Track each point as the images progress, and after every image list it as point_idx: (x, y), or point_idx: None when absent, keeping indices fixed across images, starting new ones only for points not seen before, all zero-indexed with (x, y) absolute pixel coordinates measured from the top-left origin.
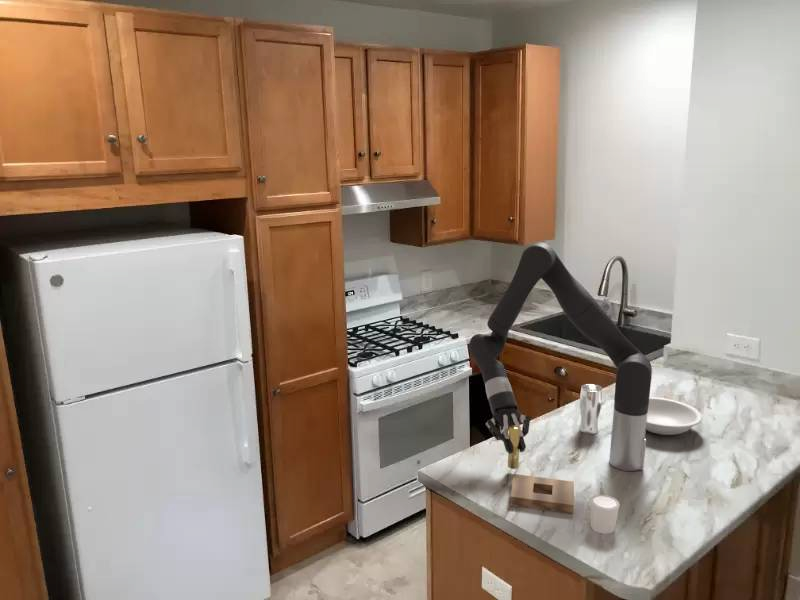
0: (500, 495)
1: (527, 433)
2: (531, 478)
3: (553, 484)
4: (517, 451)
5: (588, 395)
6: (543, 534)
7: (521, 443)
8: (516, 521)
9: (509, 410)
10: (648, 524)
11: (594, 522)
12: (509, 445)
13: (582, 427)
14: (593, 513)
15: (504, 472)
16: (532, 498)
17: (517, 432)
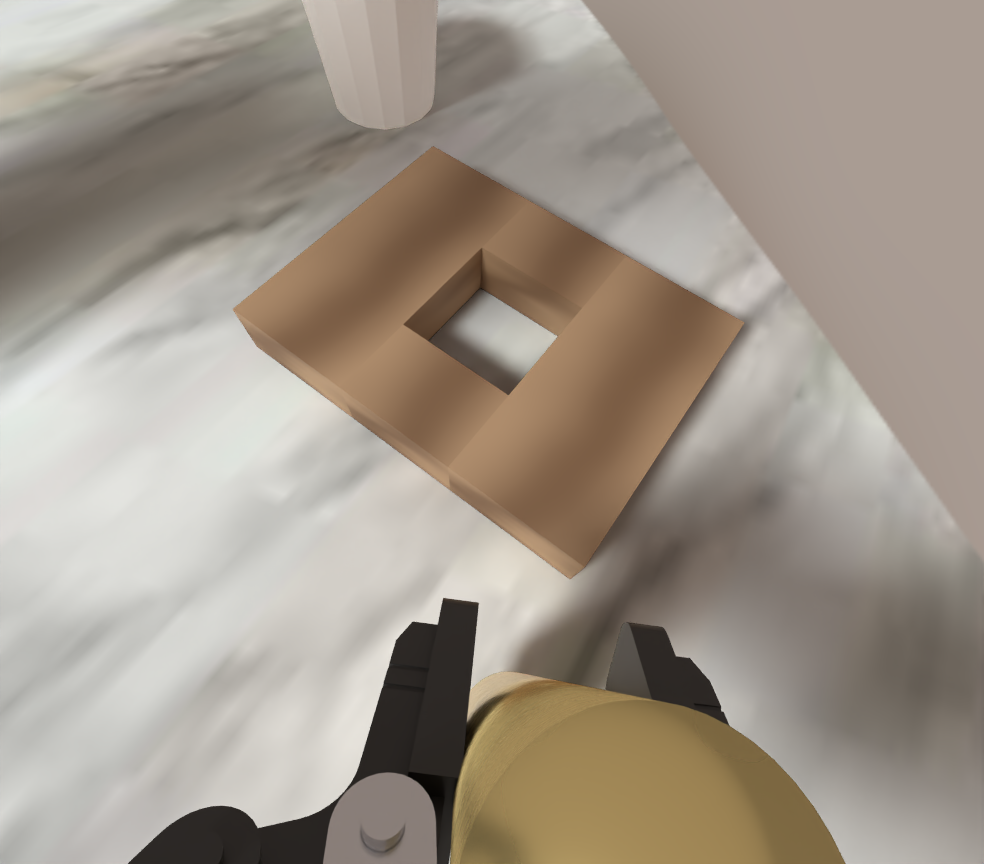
0: (735, 463)
1: (207, 812)
2: (487, 453)
3: (389, 330)
4: (515, 679)
5: None
6: (657, 142)
7: (463, 666)
8: (737, 240)
9: None
10: (195, 51)
11: (435, 53)
12: (688, 695)
13: None
14: (436, 7)
15: None
16: (618, 260)
17: (601, 695)
